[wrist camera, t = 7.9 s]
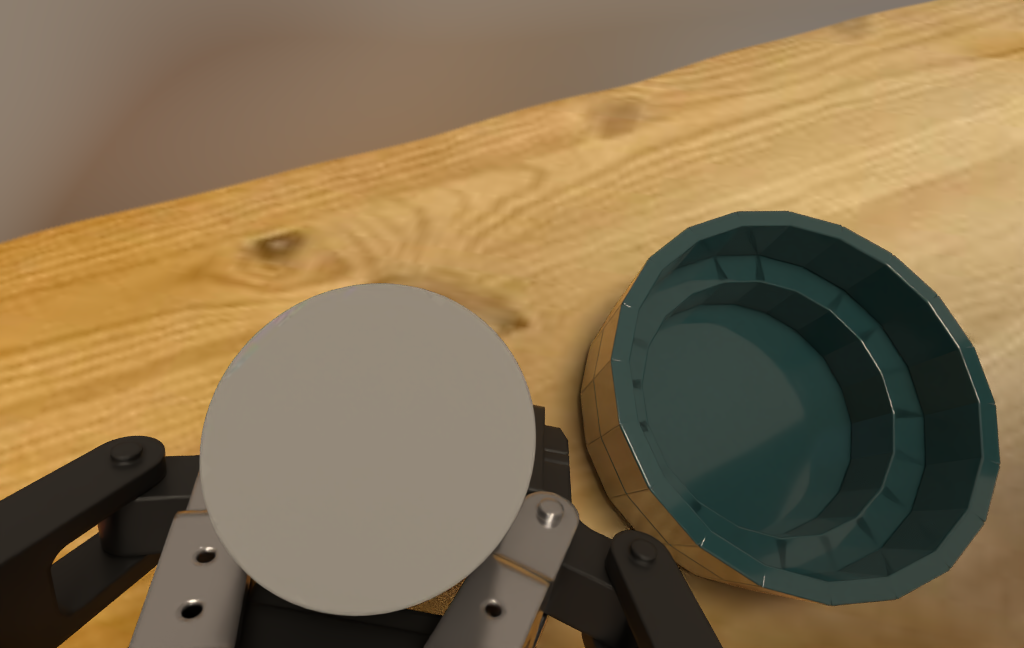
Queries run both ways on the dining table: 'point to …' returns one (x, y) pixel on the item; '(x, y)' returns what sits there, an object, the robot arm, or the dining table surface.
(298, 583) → the container
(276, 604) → the robot arm
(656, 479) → the bowl
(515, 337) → the dining table surface
